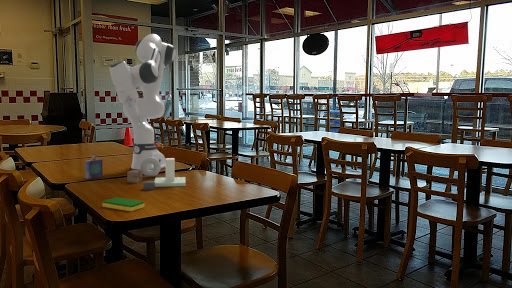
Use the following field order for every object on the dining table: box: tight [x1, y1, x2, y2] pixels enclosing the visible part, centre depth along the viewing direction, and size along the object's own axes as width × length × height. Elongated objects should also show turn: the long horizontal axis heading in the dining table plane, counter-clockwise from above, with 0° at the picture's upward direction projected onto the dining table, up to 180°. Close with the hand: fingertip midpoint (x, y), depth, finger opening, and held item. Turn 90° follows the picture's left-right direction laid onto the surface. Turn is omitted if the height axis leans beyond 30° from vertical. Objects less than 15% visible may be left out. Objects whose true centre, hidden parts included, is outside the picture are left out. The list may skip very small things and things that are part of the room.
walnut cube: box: [126, 169, 143, 184], centre depth 195 cm, size 5×5×5 cm
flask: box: [84, 155, 104, 180], centre depth 202 cm, size 9×3×11 cm, turn 146°
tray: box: [154, 176, 186, 188], centre depth 191 cm, size 14×14×2 cm
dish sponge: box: [101, 196, 146, 212], centre depth 149 cm, size 7×14×2 cm, turn 64°
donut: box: [140, 157, 162, 178], centre depth 207 cm, size 10×3×10 cm, turn 114°
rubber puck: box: [142, 180, 156, 191], centre depth 179 cm, size 5×5×3 cm
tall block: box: [164, 157, 176, 181], centre depth 191 cm, size 4×4×10 cm
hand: (138, 125), depth 192 cm, fingers open, 8 cm apart
